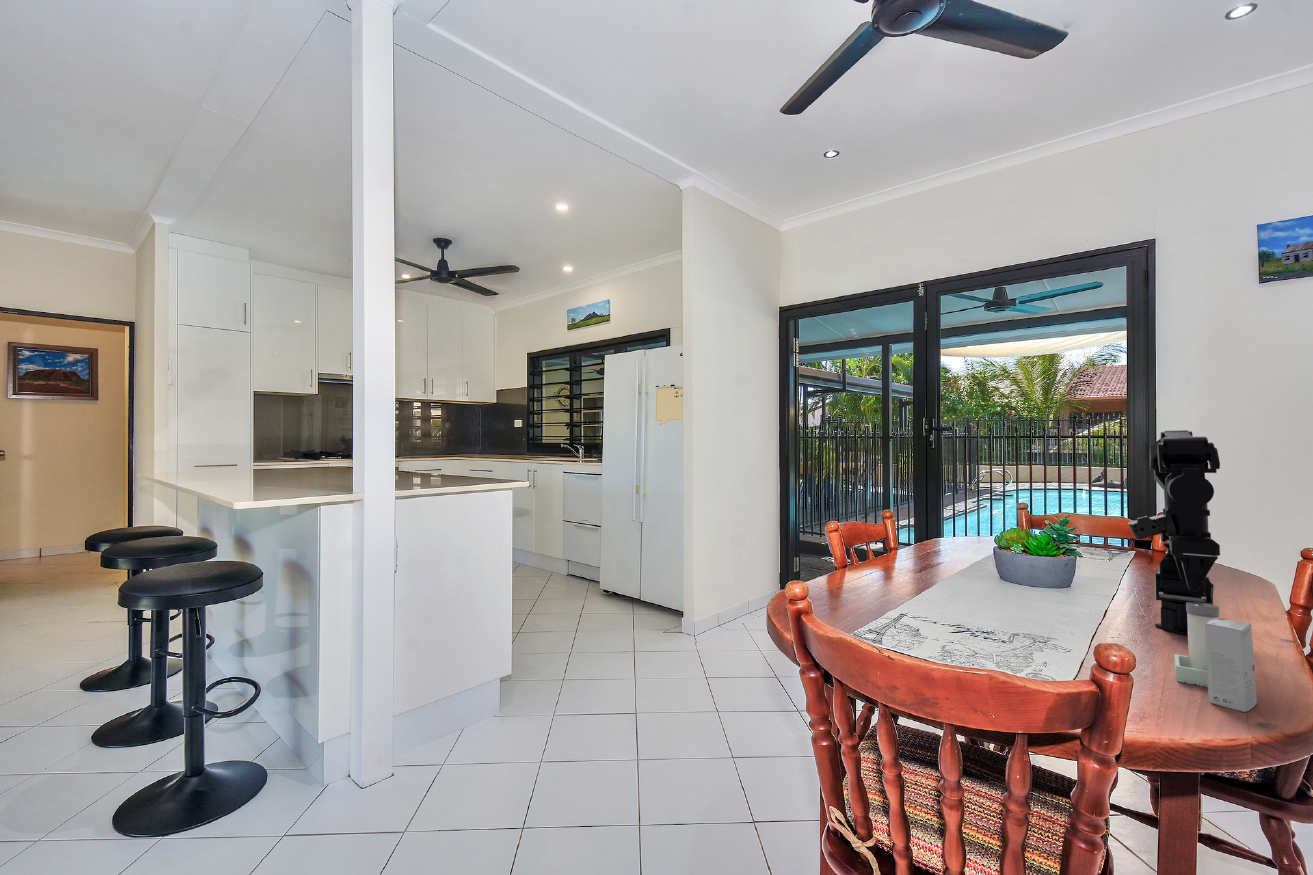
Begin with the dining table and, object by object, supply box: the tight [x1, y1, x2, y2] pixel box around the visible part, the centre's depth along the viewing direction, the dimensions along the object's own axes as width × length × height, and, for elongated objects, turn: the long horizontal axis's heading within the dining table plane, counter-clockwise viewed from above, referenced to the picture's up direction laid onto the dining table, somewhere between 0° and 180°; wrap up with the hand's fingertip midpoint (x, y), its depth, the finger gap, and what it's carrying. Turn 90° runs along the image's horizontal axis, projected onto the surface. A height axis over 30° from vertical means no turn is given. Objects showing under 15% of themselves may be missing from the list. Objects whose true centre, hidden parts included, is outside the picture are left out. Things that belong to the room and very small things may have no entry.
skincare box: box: [1205, 617, 1257, 713], centre depth 86 cm, size 6×4×12 cm
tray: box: [1174, 653, 1208, 688], centre depth 95 cm, size 7×7×2 cm
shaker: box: [1186, 602, 1220, 671], centre depth 95 cm, size 4×4×12 cm
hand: (1189, 586), depth 105 cm, fingers open, 9 cm apart
